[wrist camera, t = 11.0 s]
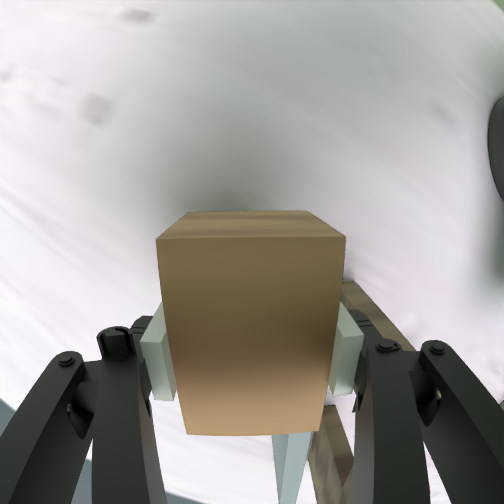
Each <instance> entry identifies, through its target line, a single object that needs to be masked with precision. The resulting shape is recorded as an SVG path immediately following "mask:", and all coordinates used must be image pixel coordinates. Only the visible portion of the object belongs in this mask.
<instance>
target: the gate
mask: <svg viewBox="0 0 504 504" xmlns="http://www.w3.org/2000/svg"><path fill="white" fill-rule="evenodd" d="M311 433H312V432H304V433H293V434H279V435H272V443H273V453H274V463H275V472H276V482H277V491H278V501H279V504H296V500H297V496H298V492H299V488H300V484H301V480H302V475H303V471H304V466H305V462H306V457H307V453H308V448H309V443H310V438H311Z"/></svg>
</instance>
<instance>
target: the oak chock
mask: <svg viewBox="0 0 504 504" xmlns="http://www.w3.org/2000/svg"><path fill="white" fill-rule="evenodd" d="M345 243H346V236H344V235H343V234H341V233H340V232H338V231H337V230H336V229H334V228H333V227H331V226H330V225H328V224H327V223H325V222H324V221H322V220H321V219H319V218H318V217H316V216H315V215H313V214H311V213H310V212H308V211H212V212H188V213H187V214H186V215H184V216H183V217H182V218H181V219H179V220H178V221H177V222H176V223H175V224H173V225H172V226H171V227H170V228H169V229H167V230H166V231H165V232H164V233H162V234H161V235H160V236H159V237H158V238H157V239H156V247H157V258H158V268H159V278H160V287H161V295H162V303H163V310H164V317H165V324H166V330H167V336H168V342H169V348H170V353H171V359H172V364H173V369H174V375H175V380H176V384H177V393H178V397H179V402H180V407H181V411H182V416H183V420H184V424H185V428H186V433H187V434H189V435H210V436H259V435H279V434H293V433H304V432H313V431H319V427H320V422H321V417H322V413H323V408H324V403H325V398H326V392H327V387H328V381H329V375H330V369H331V362H332V356H333V349H334V342H335V334H336V326H337V323H338V315H339V307H340V298H341V289H342V279H343V268H344V257H345Z"/></svg>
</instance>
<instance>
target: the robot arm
mask: <svg viewBox="0 0 504 504" xmlns="http://www.w3.org/2000/svg"><path fill="white" fill-rule="evenodd" d="M489 155H490V162H491V168H492V172H493V176H494V180H495V183H496V186H497V188H498V191H499V193H500V195H501V197H502V199H503V200H504V97H502V98H501V99H500V100H499V101H498V102H497V103H496V105H495V107H494V109H493V111H492V114H491V119H490V124H489ZM96 338H97V341H98V345H99V348H100V352H101V355H102V360H98V361H89V362H84V361H83V358H82V355H81V354H79V353H78V352H74V351H66V352H62V353H60V354H58V355H56V356H55V357H54V358H53V359H52V360H51V362H50V363H49V364H48V366H47V367H46V369H45V370H44V371H43V373H42V374H41V376H40V377H39V378H38V380H37V381H36V383H35V384H34V386H33V387H32V388H31V390H30V391H29V393H28V394H27V396H26V397H25V399H24V400H23V402H22V403H21V405H20V406H19V408H18V409H17V411H16V412H15V414H14V416H13V417H12V419H11V420H10V422H9V424H8V425H7V427H6V428H5V430H4V432H3V433H2V435H1V437H0V504H71V501H72V498H73V495H74V491H75V488H76V485H77V482H78V479H79V476H80V473H81V470H82V467H83V464H84V461H85V458H86V455H87V453H88V450H89V447H90V444H91V442H92V439H93V446H92V504H167V499H166V495H165V490H164V485H163V480H162V475H161V470H160V464H159V458H158V452H157V446H156V439H155V433H154V425H153V418H152V409H151V404H150V400H149V395H150V392H151V390H152V393H153V397H154V400H164V401H173V400H174V397H175V393H176V389H177V384H176V380H175V375H174V369H173V364H172V359H171V353H170V348H169V342H168V336H167V330H166V324H165V317H164V310H163V303H162V302H161V304H160V305H159V307H158V309H157V311H156V313H155V314H154V316H142V317H140V318H139V319H137V320H136V321H135V322H134V324H133V325H132V327H131V328H130V329H129V328H127V327H122V326H115V327H110V328H107V329H104V330H102V331H101V332H100V333H98V335H97V337H96ZM354 382H355V384H356V387H357V389H358V392H357V396H356V400H355V404H354V407H353V411H352V412H353V413H355V411H356V415H355V444H354V461H353V475H352V487H351V497H350V504H431V502H430V491H429V481H428V472H427V465H426V457H425V451H424V444H423V441H424V443H425V445H426V447H427V449H428V451H429V454H430V456H431V458H432V460H433V462H434V464H435V467H436V469H437V471H438V473H439V476H440V478H441V480H442V482H443V485H444V487H445V489H446V492H447V494H448V496H449V499H450V501H451V504H504V410H503V409H502V408H501V407H500V405H499V404H498V403H497V401H496V400H495V399H494V398H493V396H492V395H491V394H490V393H489V391H488V390H487V389H486V388H485V386H484V385H483V384H482V383H481V382H480V380H479V379H478V378H477V377H476V376H475V374H474V373H473V372H472V371H471V370H470V368H469V367H468V366H467V365H466V364H465V363H464V361H463V360H462V359H461V358H460V357H459V356H458V355H457V353H456V352H455V351H454V350H453V349H452V348H451V347H450V346H449V345H448V344H446V343H444V342H442V341H438V340H429V341H426V342H424V343H423V344H422V347H421V350H420V351H404V350H403V349H402V347H401V345H400V344H399V343H398V342H396V341H394V340H391V339H387V338H383V337H382V335H381V334H380V333H379V331H378V330H377V329H376V327H375V326H373V324H372V322H371V321H370V320H369V318H368V317H367V316H366V315H365V314H364V313H362V312H361V311H359V310H347V309H346V308H345V307H344V305H343V304H342V302H341V301H340V307H339V315H338V323H337V326H336V334H335V342H334V349H333V356H332V362H331V369H330V375H329V381H328V383H329V386H330V389H331V391H332V394H333V396H338V395H345V394H352V391H353V386H354ZM438 391H440V394H441V398H440V397H439V395H438V394H437V393H438Z"/></svg>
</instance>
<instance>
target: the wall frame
mask: <svg viewBox="0 0 504 504" xmlns="http://www.w3.org/2000/svg"><path fill="white" fill-rule="evenodd" d="M340 301H341V302H342V304H343V305H344V307H345V308H346V309H347V310H359V311H361V312H362V313H364V314H365V315H366V316H367V317H368V318H369V320H370V321H371V322H372V324H373V326H375V327H376V329H377V330H378V331H379V333H380V334H381V335H382V337H383V338H387V339H391V340H394V341H396V342H398V343H399V344H400V345H401V347H402V349H403V350H404V351H416V350H415V348H414V347H413V346H412V345H411V344H410V343H409V341H408V340H407V339H406V338H405V337H404V336H403V334H402V333H401V332H400V331H399V330H398V329H397V327H396V326H395V325H394V324H393V323H392V322H391V321H390V320H389V318H388V317H387V316H386V315H385V314H384V313H383V312H382V311H381V309H380V308H379V307H378V306H377V305H376V304H375V303H374V302H373V301H372V299H371V298H370V297H369V296H368V295H367V294H366V293H365V292H364V291H363V290H362V288H361V287H360V286H359V285H358V284H357V283H356V282H342V289H341V298H340ZM353 389H354V391H355V393H356V395H357V392H358V389H357V387H356V384H355V382H354V386H353ZM437 394H438V395H439V397H440V398H441V394H440V391H438V393H437ZM423 442H424V441H423ZM308 461H309V466H310V471H311V476H312V481H313V485H314V490H315V495H316V500H317V504H350V497H351V487H352V475H353V461H354V457H353V454H352V451H351V448H350V445H349V443H348V440H347V437H346V434H345V431H344V428H343V425H342V423H341V420H340V417H339V414H338V411H337V409H336V406H335V405H332V406H324V408H323V413H322V417H321V422H320V427H319V431H314V436H313V441H312V446H311V450H310V455H309V459H308Z"/></svg>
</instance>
